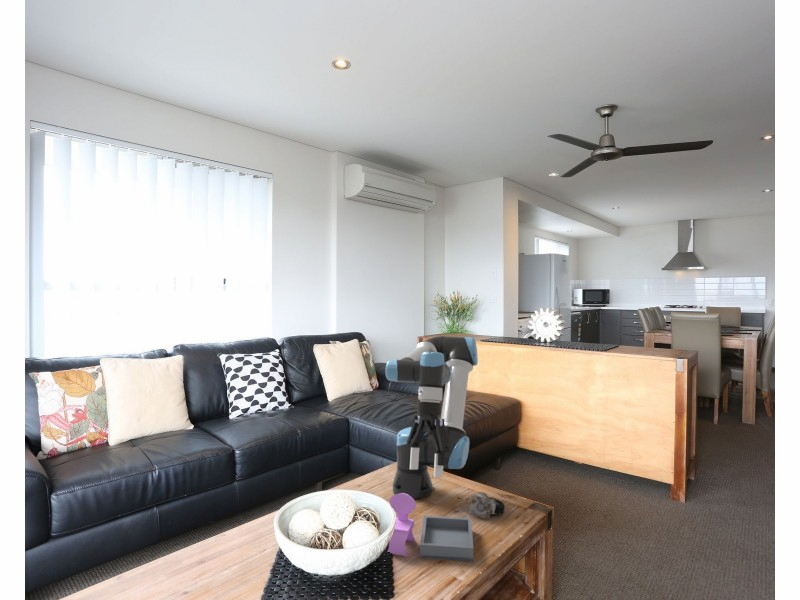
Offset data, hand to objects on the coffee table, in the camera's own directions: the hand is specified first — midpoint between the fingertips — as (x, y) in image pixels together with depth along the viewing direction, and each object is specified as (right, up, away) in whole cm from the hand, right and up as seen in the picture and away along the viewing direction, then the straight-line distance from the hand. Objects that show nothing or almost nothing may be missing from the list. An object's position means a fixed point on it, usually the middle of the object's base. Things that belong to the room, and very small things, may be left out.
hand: (425, 473), depth 136 cm
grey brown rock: (+22, -20, +18) cm, 35 cm away
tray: (+6, -21, -1) cm, 22 cm away
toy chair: (-7, -21, -2) cm, 23 cm away
